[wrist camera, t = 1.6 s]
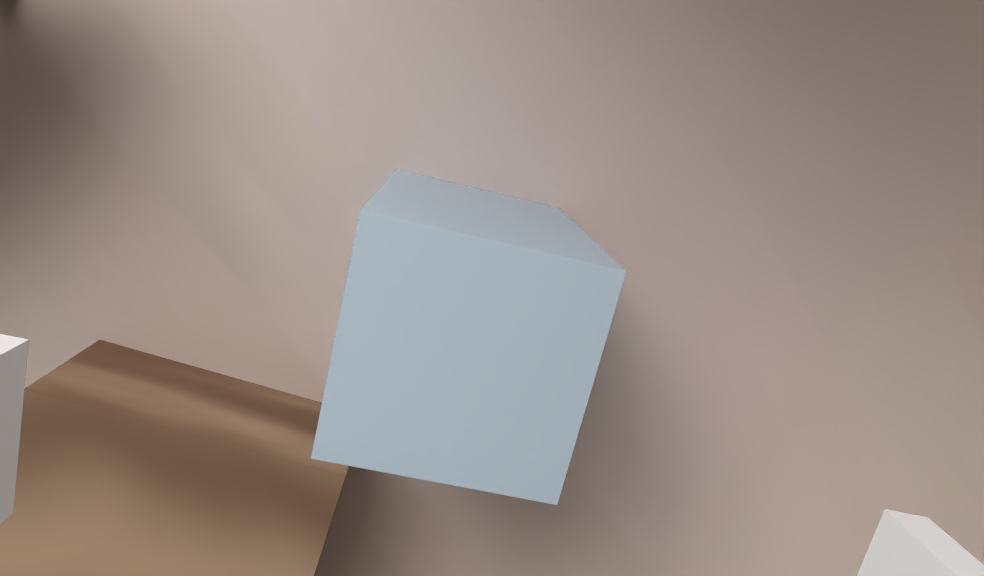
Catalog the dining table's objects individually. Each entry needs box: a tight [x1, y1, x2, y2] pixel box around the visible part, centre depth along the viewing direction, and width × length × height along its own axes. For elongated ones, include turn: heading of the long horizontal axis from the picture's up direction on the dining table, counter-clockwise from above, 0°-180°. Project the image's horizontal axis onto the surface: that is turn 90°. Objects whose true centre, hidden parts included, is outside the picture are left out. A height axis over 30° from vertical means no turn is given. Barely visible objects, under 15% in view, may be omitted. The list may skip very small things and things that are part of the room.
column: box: [311, 169, 627, 505], centre depth 21 cm, size 6×6×10 cm
